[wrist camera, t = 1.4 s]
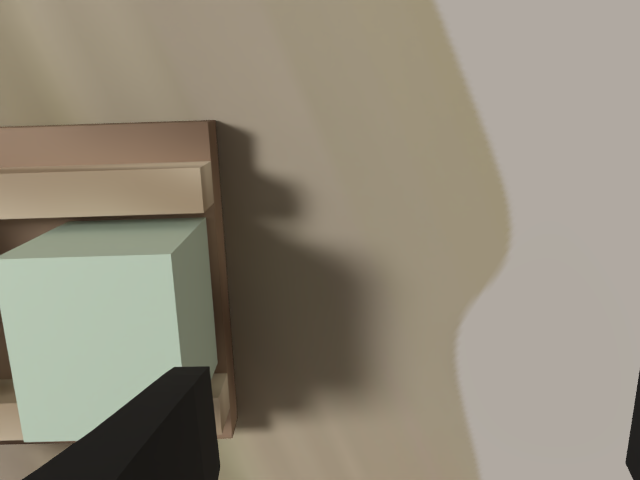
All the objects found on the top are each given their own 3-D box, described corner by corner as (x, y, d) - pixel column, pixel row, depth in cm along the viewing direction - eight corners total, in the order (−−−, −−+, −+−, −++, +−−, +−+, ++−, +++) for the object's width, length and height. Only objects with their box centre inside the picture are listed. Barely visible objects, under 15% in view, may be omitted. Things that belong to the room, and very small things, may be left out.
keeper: (217, 362, 18) (188, 437, 14) (89, 366, 18) (23, 442, 14) (205, 217, 17) (170, 253, 13) (68, 221, 17) (-9, 259, 13)
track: (237, 417, 20) (208, 529, 15) (-67, 426, 20) (-201, 539, 15) (215, 120, 17) (171, 130, 12) (-132, 131, 17) (-318, 145, 12)
